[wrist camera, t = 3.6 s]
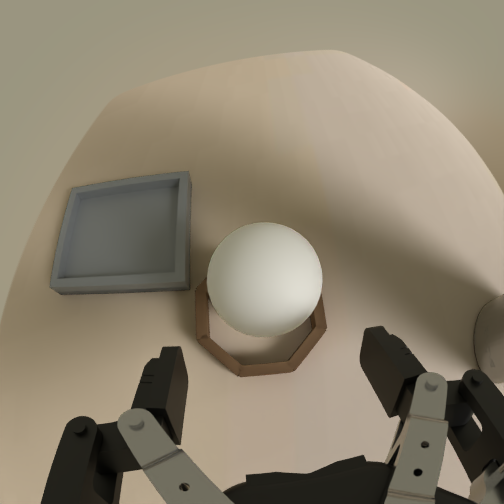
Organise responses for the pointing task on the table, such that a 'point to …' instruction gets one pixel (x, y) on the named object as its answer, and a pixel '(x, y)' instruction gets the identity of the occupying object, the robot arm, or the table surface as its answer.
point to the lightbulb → (264, 279)
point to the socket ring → (258, 369)
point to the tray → (126, 237)
